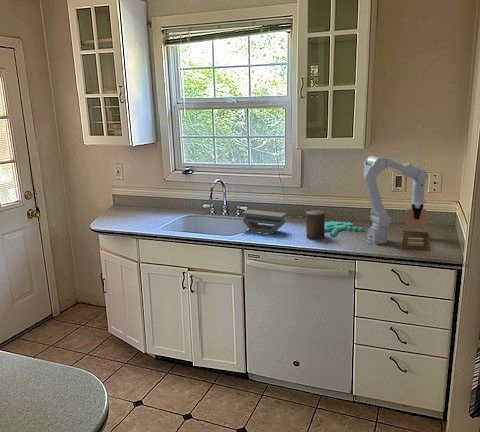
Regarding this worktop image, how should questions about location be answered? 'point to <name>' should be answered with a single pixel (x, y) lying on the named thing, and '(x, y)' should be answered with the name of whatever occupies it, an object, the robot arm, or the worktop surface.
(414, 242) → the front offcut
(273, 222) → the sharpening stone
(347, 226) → the teal pixel toy sword
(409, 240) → the offcut
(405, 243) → the rack
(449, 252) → the worktop surface
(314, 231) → the pillar candle
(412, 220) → the salmon rectangular slab
